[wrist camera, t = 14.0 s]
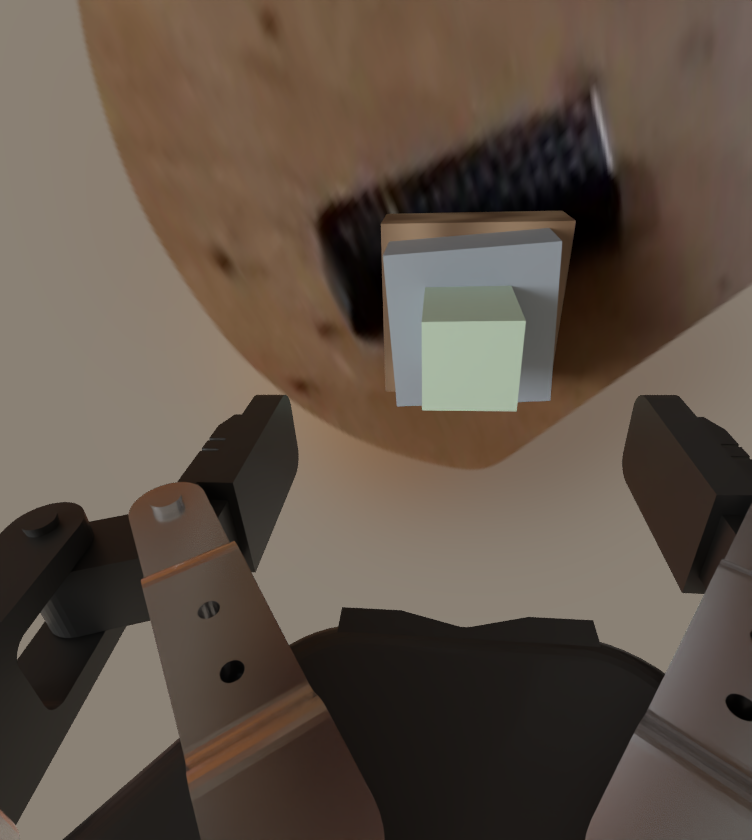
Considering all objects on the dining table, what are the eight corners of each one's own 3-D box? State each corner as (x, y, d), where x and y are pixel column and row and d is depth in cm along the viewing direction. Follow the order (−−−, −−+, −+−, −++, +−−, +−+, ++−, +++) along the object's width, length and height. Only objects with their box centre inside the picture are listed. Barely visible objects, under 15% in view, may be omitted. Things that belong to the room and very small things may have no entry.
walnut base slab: (561, 209, 35) (575, 220, 31) (538, 369, 41) (548, 394, 37) (387, 212, 36) (380, 223, 32) (390, 366, 42) (385, 391, 39)
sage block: (511, 285, 30) (525, 320, 24) (504, 364, 32) (516, 411, 27) (425, 287, 30) (421, 321, 25) (425, 364, 33) (422, 410, 28)
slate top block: (549, 227, 31) (562, 241, 28) (540, 374, 36) (550, 400, 33) (388, 241, 33) (382, 255, 30) (401, 380, 38) (397, 406, 34)
